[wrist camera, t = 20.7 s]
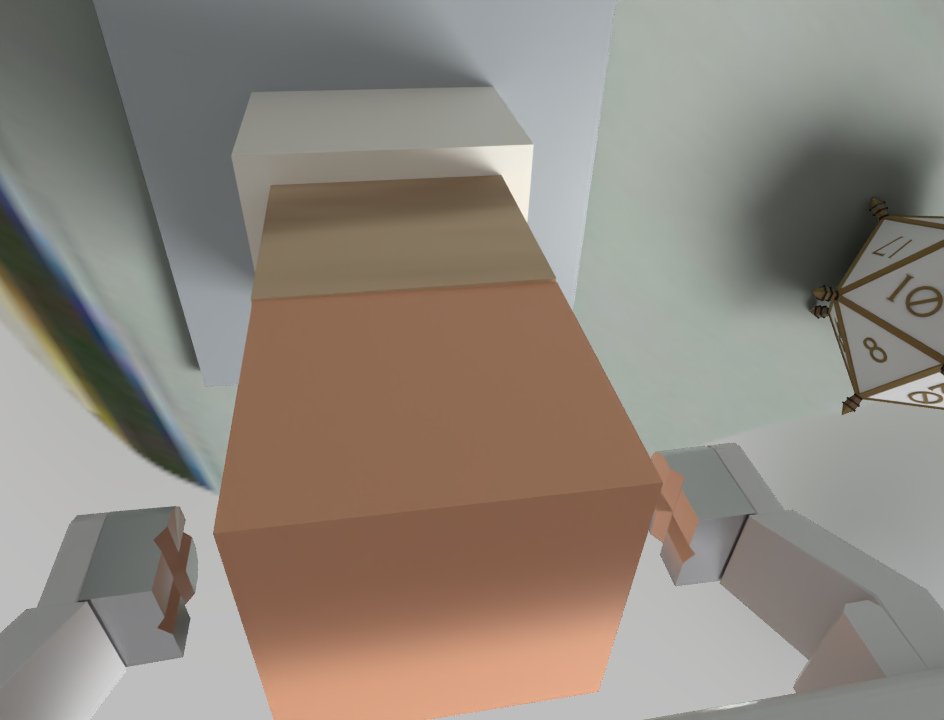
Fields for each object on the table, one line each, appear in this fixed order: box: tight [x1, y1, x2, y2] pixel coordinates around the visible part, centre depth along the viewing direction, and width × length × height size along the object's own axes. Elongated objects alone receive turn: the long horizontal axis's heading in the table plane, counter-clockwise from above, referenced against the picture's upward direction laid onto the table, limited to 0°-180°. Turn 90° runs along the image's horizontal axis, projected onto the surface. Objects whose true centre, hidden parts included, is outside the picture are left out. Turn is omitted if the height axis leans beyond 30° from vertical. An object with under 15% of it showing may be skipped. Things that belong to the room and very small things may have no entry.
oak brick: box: [251, 175, 556, 304], centre depth 15 cm, size 6×6×5 cm
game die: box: [809, 197, 944, 415], centre depth 24 cm, size 9×8×10 cm
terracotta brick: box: [213, 283, 663, 720], centre depth 12 cm, size 6×6×5 cm
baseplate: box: [93, 0, 616, 387], centre depth 20 cm, size 14×14×6 cm
